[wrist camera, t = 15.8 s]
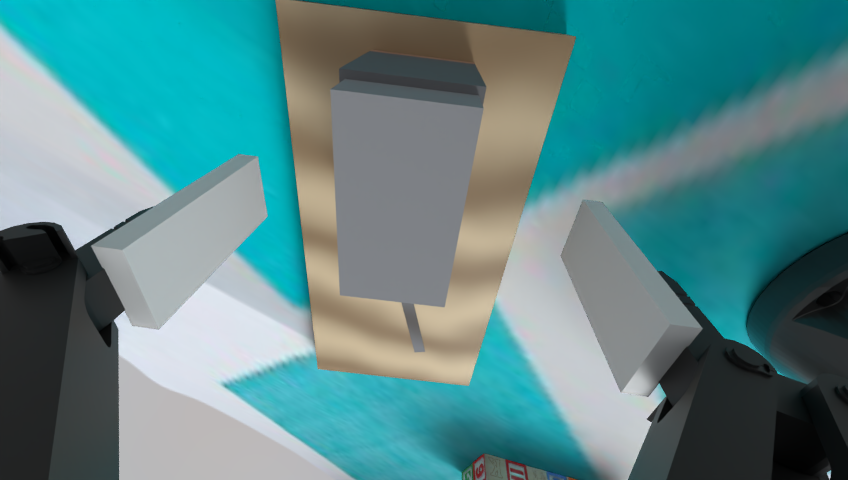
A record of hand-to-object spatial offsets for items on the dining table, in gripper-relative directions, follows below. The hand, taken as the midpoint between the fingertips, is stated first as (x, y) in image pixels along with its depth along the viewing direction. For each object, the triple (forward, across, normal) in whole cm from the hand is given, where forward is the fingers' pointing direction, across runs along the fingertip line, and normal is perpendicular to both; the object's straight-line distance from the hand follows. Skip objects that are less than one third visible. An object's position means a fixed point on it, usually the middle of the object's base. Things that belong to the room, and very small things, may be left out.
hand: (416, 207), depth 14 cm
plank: (+8, -1, -7) cm, 11 cm away
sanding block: (+6, -1, 0) cm, 6 cm away
